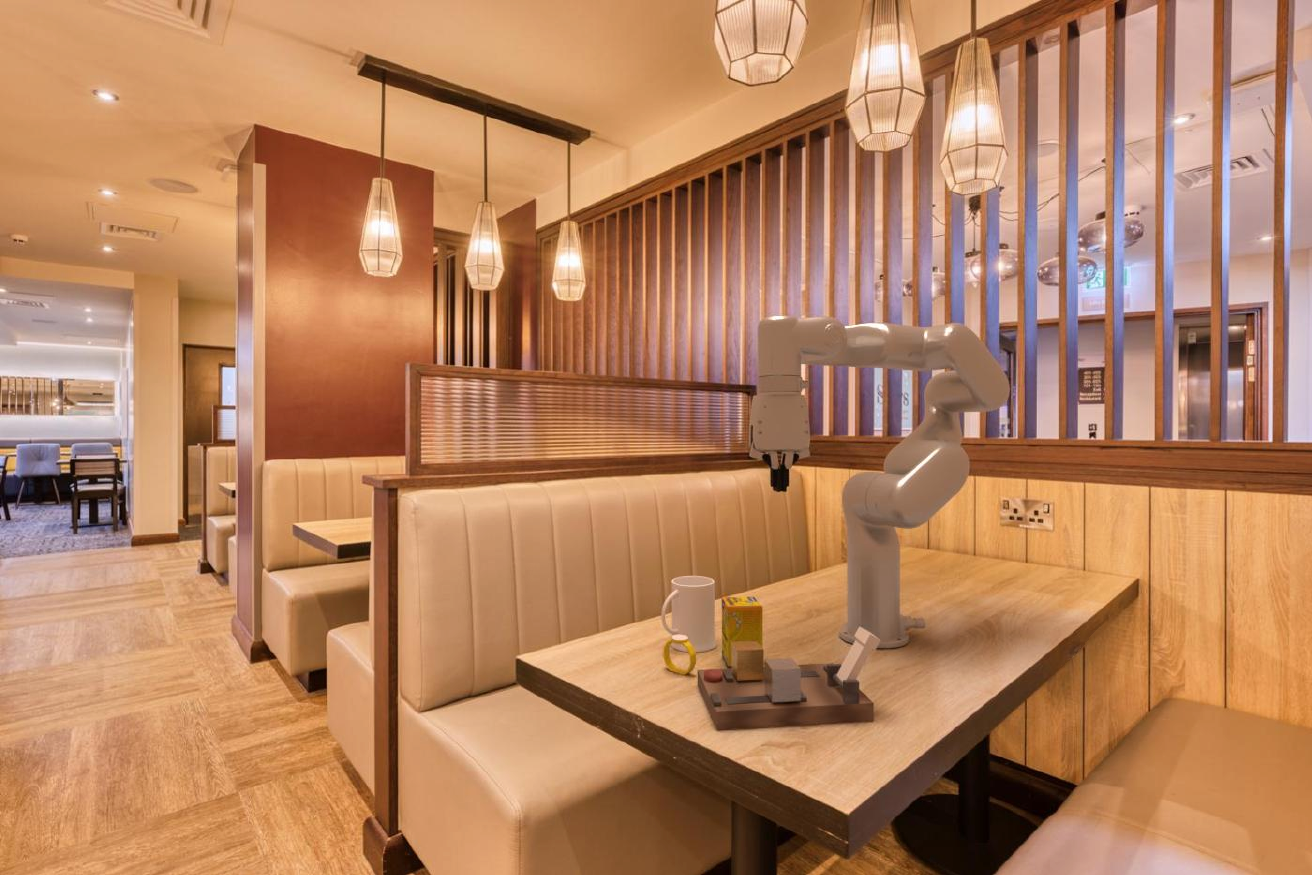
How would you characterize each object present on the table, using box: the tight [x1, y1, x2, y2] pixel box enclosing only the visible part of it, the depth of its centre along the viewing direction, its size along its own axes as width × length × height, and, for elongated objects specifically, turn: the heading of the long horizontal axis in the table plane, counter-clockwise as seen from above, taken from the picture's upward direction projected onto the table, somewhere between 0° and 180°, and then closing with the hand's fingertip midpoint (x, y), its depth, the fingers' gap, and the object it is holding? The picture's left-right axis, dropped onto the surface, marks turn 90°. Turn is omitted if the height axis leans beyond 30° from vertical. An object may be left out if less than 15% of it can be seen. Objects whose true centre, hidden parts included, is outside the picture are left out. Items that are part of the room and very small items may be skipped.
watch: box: [662, 635, 697, 676], centre depth 108 cm, size 6×3×6 cm, turn 50°
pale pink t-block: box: [833, 626, 881, 689], centre depth 93 cm, size 2×4×9 cm, turn 7°
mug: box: [660, 575, 717, 653], centre depth 120 cm, size 12×8×12 cm
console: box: [697, 662, 875, 731], centre depth 96 cm, size 22×15×6 cm
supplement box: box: [721, 595, 763, 668], centre depth 111 cm, size 6×6×11 cm
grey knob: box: [763, 657, 801, 702], centre depth 92 cm, size 4×4×4 cm
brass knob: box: [731, 641, 764, 681], centre depth 99 cm, size 4×4×4 cm
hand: (779, 490), depth 116 cm, fingers closed
